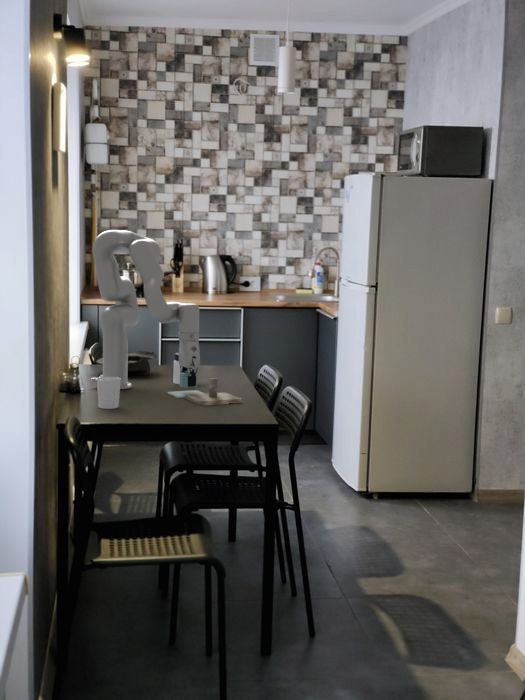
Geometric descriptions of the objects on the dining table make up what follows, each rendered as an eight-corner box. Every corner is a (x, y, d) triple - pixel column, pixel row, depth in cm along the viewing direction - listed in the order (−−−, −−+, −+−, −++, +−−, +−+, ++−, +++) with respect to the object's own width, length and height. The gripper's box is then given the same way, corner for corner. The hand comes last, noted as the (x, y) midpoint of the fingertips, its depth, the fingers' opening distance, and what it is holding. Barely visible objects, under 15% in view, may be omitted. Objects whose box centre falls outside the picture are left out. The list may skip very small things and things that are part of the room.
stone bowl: (168, 373, 391) (167, 352, 390) (123, 384, 373) (122, 362, 371) (129, 366, 407) (128, 345, 405) (84, 376, 388) (83, 354, 387)
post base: (200, 405, 324) (201, 383, 323) (185, 398, 336) (185, 377, 335) (241, 402, 332) (242, 380, 331) (224, 396, 344) (225, 375, 343)
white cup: (99, 404, 321) (99, 376, 319) (122, 405, 320) (122, 377, 319) (94, 409, 313) (94, 379, 312) (117, 409, 313) (118, 380, 311)
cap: (198, 387, 343) (199, 372, 342) (183, 388, 340) (184, 373, 339) (192, 384, 348) (192, 370, 347) (177, 385, 345) (177, 371, 344)
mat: (177, 398, 337) (177, 396, 337) (167, 393, 346) (167, 391, 346) (207, 396, 343) (207, 394, 343) (196, 391, 352) (196, 390, 352)
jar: (199, 384, 369) (199, 354, 367) (182, 385, 364) (183, 355, 362) (186, 380, 376) (187, 351, 374) (169, 382, 370) (170, 352, 369)
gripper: (207, 339, 336) (207, 388, 338) (188, 334, 351) (188, 380, 353) (188, 339, 332) (188, 389, 335) (170, 334, 347) (170, 382, 350)
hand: (188, 384), depth 344 cm, fingers closed on cap, 6 cm apart
